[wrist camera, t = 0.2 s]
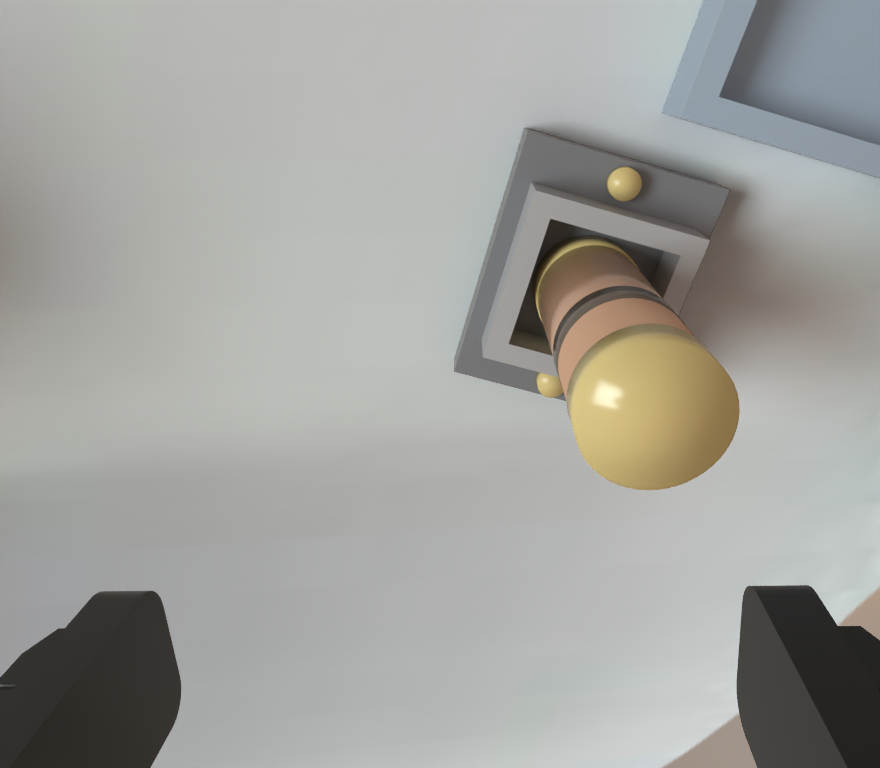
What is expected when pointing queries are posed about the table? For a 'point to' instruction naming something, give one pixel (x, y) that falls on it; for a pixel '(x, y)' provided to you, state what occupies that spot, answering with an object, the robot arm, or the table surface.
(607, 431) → the cylinder
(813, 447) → the table surface
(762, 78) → the parts tray
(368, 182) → the table surface
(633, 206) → the fuse block
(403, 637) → the table surface
